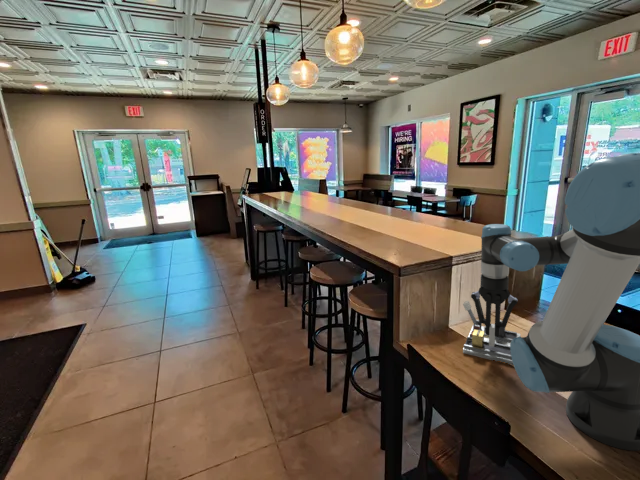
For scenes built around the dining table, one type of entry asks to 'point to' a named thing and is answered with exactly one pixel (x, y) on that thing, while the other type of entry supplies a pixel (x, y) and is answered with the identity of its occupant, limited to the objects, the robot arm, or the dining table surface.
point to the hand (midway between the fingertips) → (491, 344)
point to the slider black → (502, 331)
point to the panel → (489, 352)
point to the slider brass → (478, 338)
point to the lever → (470, 311)
